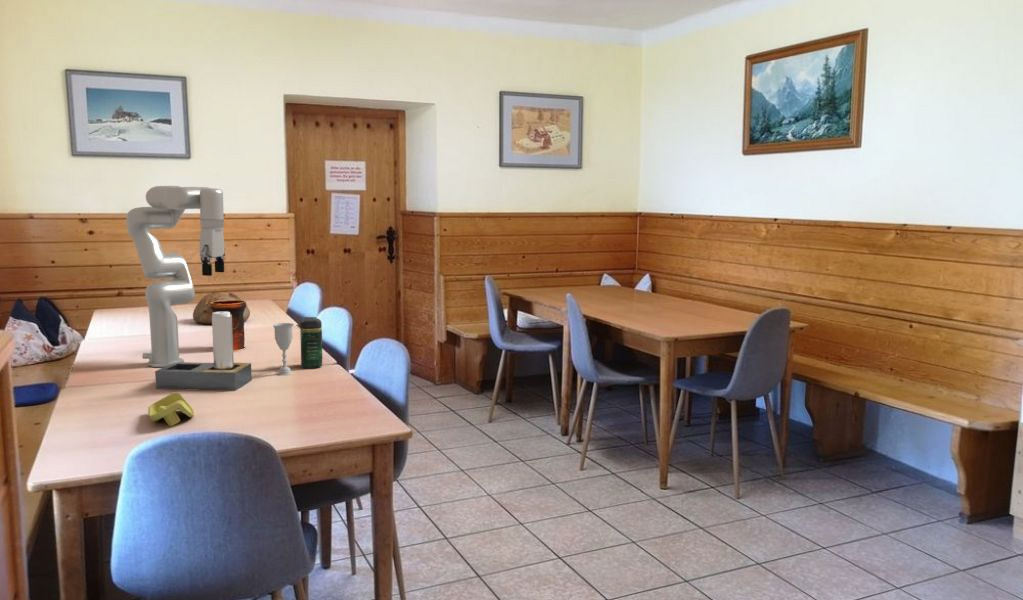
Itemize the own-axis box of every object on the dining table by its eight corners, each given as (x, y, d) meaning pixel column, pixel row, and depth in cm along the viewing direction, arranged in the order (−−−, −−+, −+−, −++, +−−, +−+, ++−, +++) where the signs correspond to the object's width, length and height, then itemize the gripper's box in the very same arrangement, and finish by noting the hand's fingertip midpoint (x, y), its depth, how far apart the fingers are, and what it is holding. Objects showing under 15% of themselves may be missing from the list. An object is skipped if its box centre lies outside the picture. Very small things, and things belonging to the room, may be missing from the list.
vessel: (203, 350, 324) (201, 302, 322) (227, 345, 337) (226, 298, 335) (230, 353, 319) (229, 304, 317) (254, 347, 332) (253, 300, 330)
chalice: (299, 372, 286) (297, 323, 284) (287, 376, 280) (286, 326, 277) (281, 370, 289) (280, 322, 286) (270, 374, 282) (268, 325, 280)
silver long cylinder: (228, 387, 263) (225, 313, 260) (210, 386, 265) (207, 313, 261) (238, 383, 270) (235, 311, 266) (221, 382, 271) (218, 310, 268)
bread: (184, 324, 387) (182, 294, 385) (211, 317, 409) (210, 289, 407) (232, 327, 381) (231, 296, 379) (257, 319, 404) (256, 290, 402)
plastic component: (148, 406, 232) (180, 388, 236) (161, 427, 234) (193, 409, 237) (148, 418, 214) (182, 399, 218) (162, 441, 216) (196, 421, 219)
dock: (156, 388, 261) (155, 370, 260) (176, 379, 275) (175, 361, 274) (235, 390, 260) (234, 372, 259) (251, 380, 274) (251, 363, 273)
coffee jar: (323, 368, 293) (322, 319, 291) (301, 369, 291) (300, 320, 288) (322, 362, 302) (320, 315, 300) (300, 364, 300) (299, 316, 298)
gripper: (212, 222, 279) (214, 270, 282) (189, 225, 262) (191, 276, 265) (233, 223, 279) (234, 271, 282) (211, 226, 262) (213, 277, 265)
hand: (213, 273), depth 273 cm, fingers open, 9 cm apart
